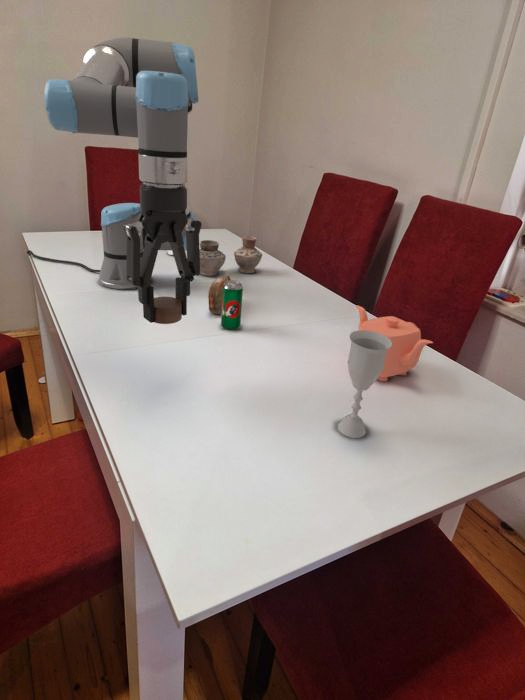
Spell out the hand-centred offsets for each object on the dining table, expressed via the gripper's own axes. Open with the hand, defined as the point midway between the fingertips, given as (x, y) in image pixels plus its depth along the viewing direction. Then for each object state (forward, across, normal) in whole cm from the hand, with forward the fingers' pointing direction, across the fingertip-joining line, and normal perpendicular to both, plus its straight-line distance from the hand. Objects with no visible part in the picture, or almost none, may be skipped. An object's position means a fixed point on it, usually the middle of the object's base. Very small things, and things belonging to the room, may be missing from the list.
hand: (165, 315), depth 83 cm
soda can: (+15, +28, +16) cm, 35 cm away
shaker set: (+16, +49, +77) cm, 92 cm away
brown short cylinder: (0, 0, 0) cm, 0 cm away
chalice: (+15, +20, -31) cm, 40 cm away
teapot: (+15, +44, -20) cm, 51 cm away
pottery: (+16, +55, +54) cm, 78 cm away
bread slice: (+15, +33, +28) cm, 46 cm away
